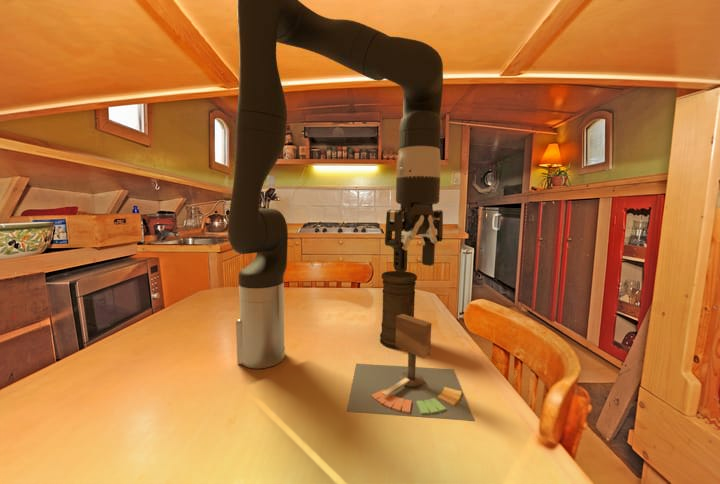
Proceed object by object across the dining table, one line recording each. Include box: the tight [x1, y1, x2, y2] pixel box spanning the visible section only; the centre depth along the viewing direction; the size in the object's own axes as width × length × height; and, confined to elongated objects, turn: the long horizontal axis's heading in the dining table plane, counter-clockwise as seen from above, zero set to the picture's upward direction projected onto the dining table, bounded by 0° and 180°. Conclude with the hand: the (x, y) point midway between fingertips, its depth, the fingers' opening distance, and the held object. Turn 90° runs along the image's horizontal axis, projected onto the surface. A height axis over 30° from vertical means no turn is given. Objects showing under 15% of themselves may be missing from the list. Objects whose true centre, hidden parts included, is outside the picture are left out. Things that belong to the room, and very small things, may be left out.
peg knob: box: [382, 314, 432, 398], centre depth 54 cm, size 10×6×12 cm, turn 135°
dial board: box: [346, 363, 475, 422], centre depth 55 cm, size 20×15×2 cm
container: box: [379, 270, 418, 350], centre depth 74 cm, size 9×9×18 cm
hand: (414, 267), depth 54 cm, fingers open, 8 cm apart
